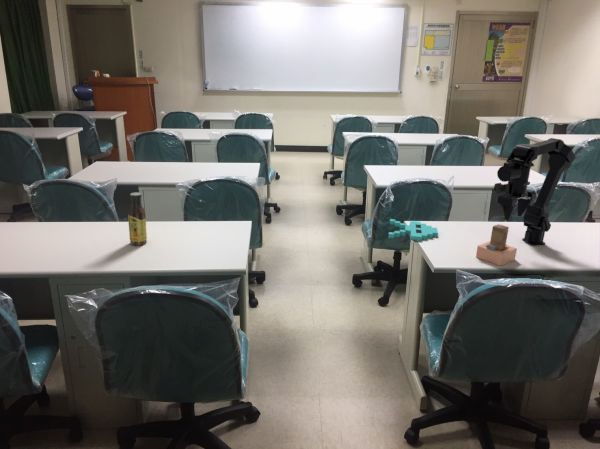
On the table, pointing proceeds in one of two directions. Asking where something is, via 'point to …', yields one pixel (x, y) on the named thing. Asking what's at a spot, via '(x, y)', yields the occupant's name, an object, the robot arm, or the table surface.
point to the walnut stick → (499, 237)
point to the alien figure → (413, 230)
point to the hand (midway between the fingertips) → (512, 218)
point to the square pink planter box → (496, 254)
